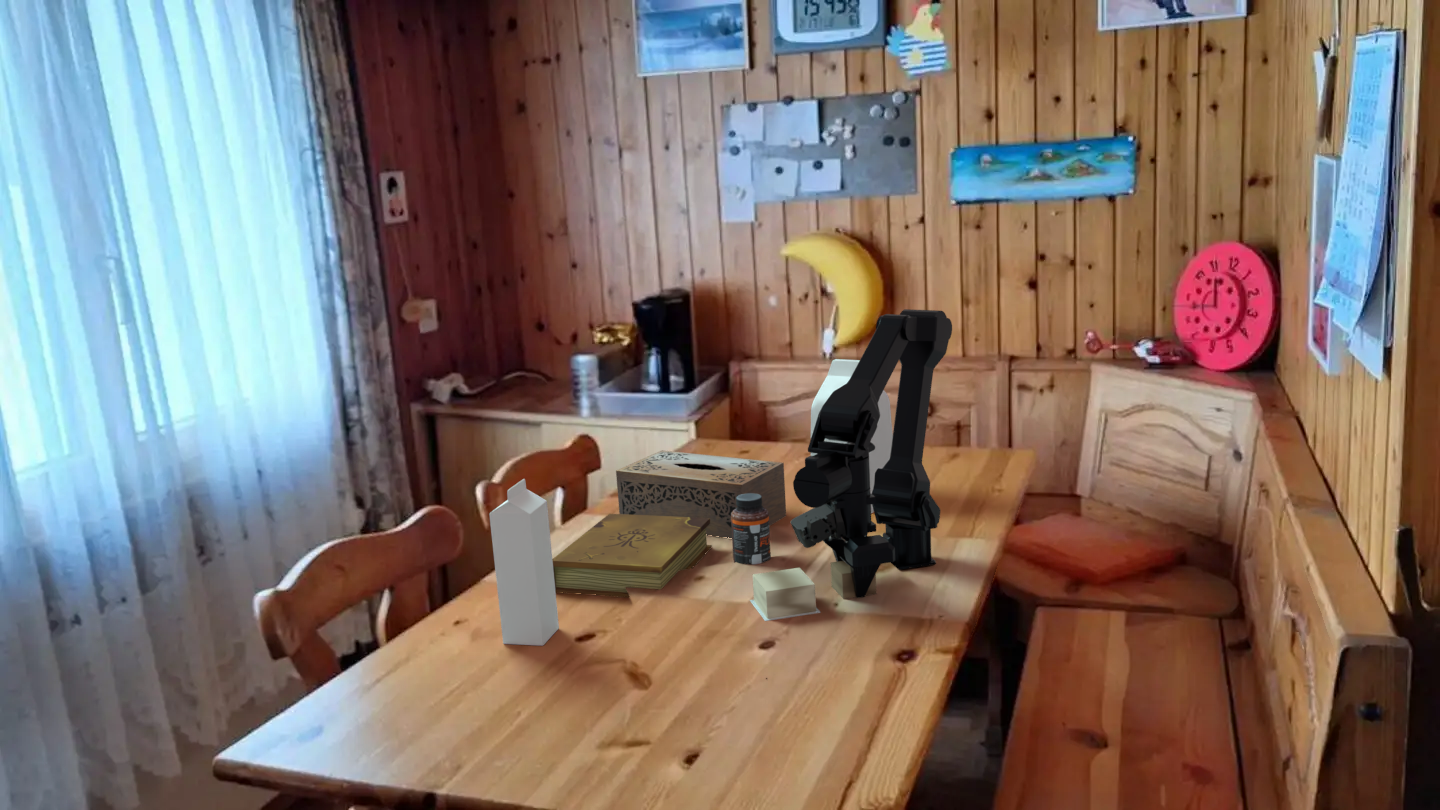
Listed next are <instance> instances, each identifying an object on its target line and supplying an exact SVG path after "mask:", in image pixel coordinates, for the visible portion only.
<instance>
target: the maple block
mask: <svg viewBox="0 0 1440 810" xmlns="http://www.w3.org/2000/svg"><path fill="white" fill-rule="evenodd" d="M752 585H753V586H752V591H753V600H754V602H755V603H756V604H757V606H758V607H759V608H760V610H761V611H762V612H763V614H764V615H765V616H766V618H767V619H770V618H777V617H783V616H790V615H796V614H803V613H809V612H816V607H817V603H816V602H817V599H816V597H817V596H816V584H815V583H814V582H813V580H812V579H811V578H810V577H809V575H807V574H806V573H805V572H804V570H802V568H801V567H795V568H788V569H787V568H786V569H781V570H774V571H766V572H761V573H760V572H759V573H753V574H752Z"/></svg>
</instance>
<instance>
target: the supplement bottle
mask: <svg viewBox="0 0 1440 810" xmlns="http://www.w3.org/2000/svg"><path fill="white" fill-rule="evenodd" d="M736 505H737V508H736V509H734V510H733V512H732V513H731V528H732V539H731V540H732V541H731V543H732V560H733V563H734V564H735V563H737V564H741V565H758V564H763V563H766V562H768V561H770V560H771V558H772V556H771V555H772V553H771V537H770V536H771V534H770V533H771V532H770V526H769V513H768V511H767V509H765V508H764V507H763V506H762V496H761V495H759V494H753V493H748V494H741V495H739V496H737V497H736Z"/></svg>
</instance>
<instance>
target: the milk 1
mask: <svg viewBox="0 0 1440 810" xmlns="http://www.w3.org/2000/svg"><path fill="white" fill-rule="evenodd" d="M506 492H507V493H506V497H507V500H505V501H504V502H503V503H501V504H499V506H497V507H496V508H494V509H493V510H492V511H490V512H489V514H488V515H489V525H490V532H491V541H492V551H493V561H494V569H495V571H494V572H495V579H496V588H497V589H496V591H497V599H498V608H499V617H500V626H501V636H502V644H504V645H520V646H521V645H522V646H524V645H525V646H544V645H545V644H546V643H547V642H548V641H549V639H551V638H552V636H553V635H554V634H555V633H556V632H557V631H558V630H559V629H560V626H559V625H560V624H559V613H558V605H557V604H558V603H557V593H556V592H555V581H554V571H553V560H552V559H553V552H552V541H551V531H550V520H549V519H550V518H549V511H548V510H549V509H548V501H547V500H546V499H544V498H543V497H541V496H539V495H538V494H537V493H534V492H533V491H531V490H529V489H527V484H526V479H525V478H523V479H521V480H520V481H518V482H517V483H516V484H514V485H513V486H511V487H510V488H509V489H507V491H506Z"/></svg>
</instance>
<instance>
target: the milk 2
mask: <svg viewBox="0 0 1440 810" xmlns="http://www.w3.org/2000/svg"><path fill="white" fill-rule="evenodd" d="M859 361H860V360H859V359H844V358H843V359H841V358H840V359H839V358H835V359H833V360H832V361H831V364H830V366H829V369H828V372H827V375H826V377H825V379H824V381H822V384H821V386H820V388H819V389H818V391H817V393H816V395H815V397H814V399H813V401H812V404H811V407H810V408H811V409H810V438H811V437H812V434H813V431H814V427H815V424H816V421H817V418H818V414H819V412H820V410H821V408H822V406H823V405H824V403H825V402H826V401H827V399H828V398H829V397H830V395H831V394H832V393H833V392H834V391H835V390H837V389H838V388H840V387H842V386H843V385H845V384H847V382H848V381H849V380H850V378H851V376H852V374H853V372H854V370H855V368H856V367H857V365H858V363H859ZM878 407H879V412H880V418H879V421H878V423H877V428H876V431H875V433H874V435H873V437H872V439H871V441H870V442H871V443H873V445H875V450H873V451H871V452H869V469H870V493H871V494H872V491H873V488H874V481H875V472H876V471H877V469H878V468H881V469H882V468H883V467H884V466H885V464H886V463H887V462H888V460H889V459H890V454H891V446H892V438H893V421H892V411H891V401H890V397H889V395H888V393H887V392H886V390H885V389H884V390H883V392H882V394H881V396H880V398H879V401H878ZM824 441H827V442H836V443H844V444H846V443H847V442H843V441H834V440H828V439H826V438H825V440H824ZM816 454H817V453H810V456H814V455H816ZM873 513H874V510H873V506H872V504H871V514H873Z"/></svg>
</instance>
